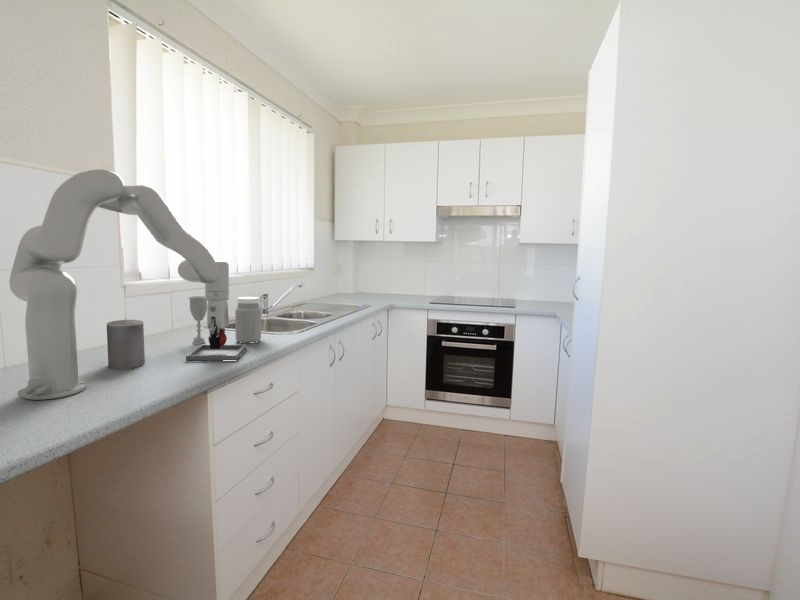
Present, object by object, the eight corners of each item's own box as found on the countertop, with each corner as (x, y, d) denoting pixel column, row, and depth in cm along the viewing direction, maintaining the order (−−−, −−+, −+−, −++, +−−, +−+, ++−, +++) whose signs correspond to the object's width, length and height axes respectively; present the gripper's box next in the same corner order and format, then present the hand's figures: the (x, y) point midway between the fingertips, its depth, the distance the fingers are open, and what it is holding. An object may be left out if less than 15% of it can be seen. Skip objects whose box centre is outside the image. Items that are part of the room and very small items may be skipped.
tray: (236, 361, 139) (236, 355, 139) (185, 361, 136) (185, 355, 136) (246, 349, 154) (246, 344, 154) (201, 349, 152) (201, 344, 152)
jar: (261, 343, 165) (261, 299, 163) (235, 344, 162) (235, 299, 159) (260, 338, 174) (260, 296, 172) (235, 339, 170) (235, 296, 168)
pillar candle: (111, 362, 132) (109, 316, 130) (146, 359, 136) (145, 315, 134) (105, 371, 123) (102, 322, 121) (143, 368, 128) (141, 320, 126)
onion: (229, 347, 148) (229, 325, 146) (221, 351, 142) (221, 329, 141) (214, 346, 148) (214, 324, 147) (205, 350, 142) (205, 327, 141)
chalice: (184, 343, 160) (183, 297, 158) (198, 339, 166) (197, 295, 164) (200, 345, 158) (199, 299, 155) (213, 341, 164) (212, 297, 162)
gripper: (221, 299, 135) (222, 352, 137) (234, 293, 152) (234, 341, 154) (197, 298, 134) (198, 352, 136) (212, 292, 150) (213, 340, 153)
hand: (217, 345), depth 145 cm, fingers closed on onion, 5 cm apart
